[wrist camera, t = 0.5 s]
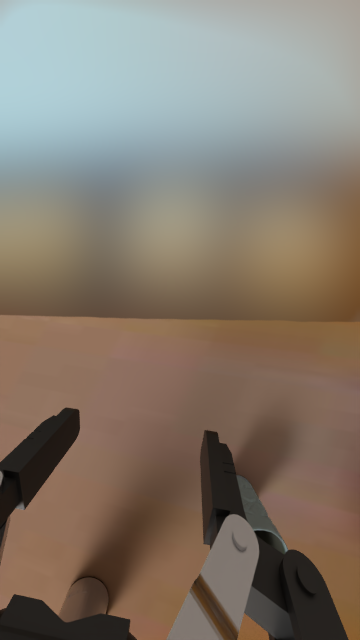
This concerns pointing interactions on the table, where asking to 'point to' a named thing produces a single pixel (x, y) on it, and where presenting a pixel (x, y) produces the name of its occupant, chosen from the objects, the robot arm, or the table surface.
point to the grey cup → (259, 516)
